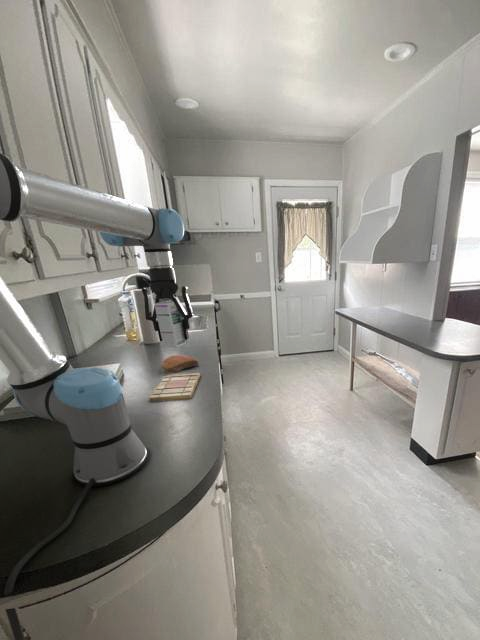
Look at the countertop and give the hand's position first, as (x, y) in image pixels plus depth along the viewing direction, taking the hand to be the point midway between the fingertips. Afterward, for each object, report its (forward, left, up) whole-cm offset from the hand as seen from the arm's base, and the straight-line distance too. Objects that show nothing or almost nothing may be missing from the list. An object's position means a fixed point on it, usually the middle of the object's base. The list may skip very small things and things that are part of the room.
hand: (174, 339), depth 102 cm
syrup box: (0, 0, -2) cm, 2 cm away
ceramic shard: (+32, +10, -21) cm, 40 cm away
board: (+7, +4, -21) cm, 22 cm away
